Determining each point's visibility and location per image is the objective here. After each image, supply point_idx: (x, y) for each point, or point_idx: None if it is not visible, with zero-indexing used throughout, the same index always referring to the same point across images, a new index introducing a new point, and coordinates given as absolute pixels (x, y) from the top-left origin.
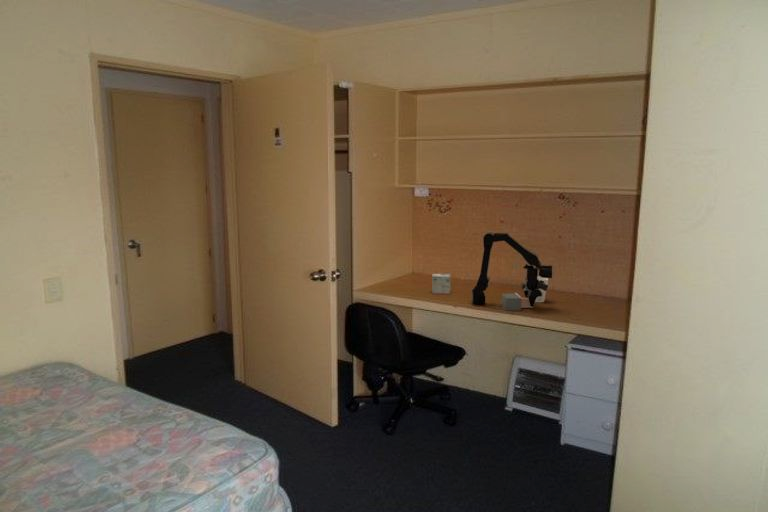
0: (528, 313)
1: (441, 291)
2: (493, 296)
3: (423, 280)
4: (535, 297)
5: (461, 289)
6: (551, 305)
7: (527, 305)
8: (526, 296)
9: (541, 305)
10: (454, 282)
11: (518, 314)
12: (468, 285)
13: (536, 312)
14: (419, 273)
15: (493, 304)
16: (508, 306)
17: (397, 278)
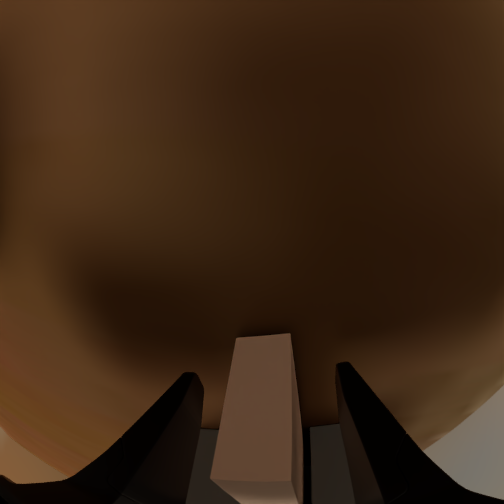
0: (477, 363)
1: None
2: (59, 429)
3: (48, 460)
4: (453, 501)
5: (54, 451)
6: (62, 26)
7: (297, 410)
8: (180, 500)
9: (80, 170)
10: (12, 427)
11: (465, 409)
12: (6, 417)
13: (481, 297)
14: (13, 438)
15: None
16: None
17: (69, 477)
